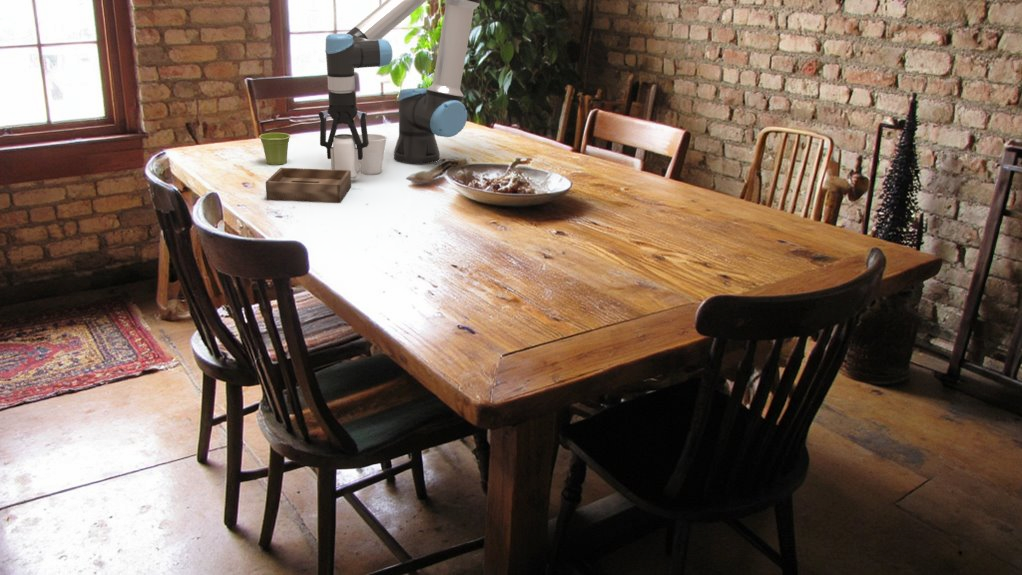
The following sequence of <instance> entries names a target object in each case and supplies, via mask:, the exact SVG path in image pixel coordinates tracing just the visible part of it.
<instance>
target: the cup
mask: <svg viewBox="0 0 1022 575" xmlns="http://www.w3.org/2000/svg"><path fill="white" fill-rule="evenodd" d="M367 134H368V142H369V144H368V146H367V147H364V148H363V149H362V150H363V158H362V160H359V162H360V172H361V173H362V174H363V175H369V176H371V175H373V176H374V175H378V174H380V173H382V171H383V170H382V169H383V161H384V154H385V150H386V142H387V139H388V137H387V136H386V135H383V134H377V133H367ZM359 137H360V140H361V142H362V143H363V140H362V133H361V134H359ZM356 147H357V146H356Z"/></svg>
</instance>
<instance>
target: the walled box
mask: <svg viewBox="0 0 1022 575" xmlns="http://www.w3.org/2000/svg"><path fill="white" fill-rule="evenodd" d="M351 179H352V178H351V170H332V169H328V168H327V169H326V168H325V169H324V168H323V169H322V168H303V167H302V168H301V167H297V168H296V167H279V169H277V171H276V172H274V173H273V174H272V175H271V176H269V178H268V179H267V180H266V181H265V193H266V196H265V197H266V200H267V201H285V202H288V201H289V202H312V203H337V204H341V203H342V201H343V200H344V198H345V197H346V196H347V194H348V193H349V192H350V189H351V188H352V180H351Z"/></svg>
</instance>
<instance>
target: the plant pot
mask: <svg viewBox="0 0 1022 575" xmlns="http://www.w3.org/2000/svg"><path fill="white" fill-rule="evenodd" d="M258 136H259V139H260V140H261V143H262V148H263V152H264V157H265V162H266V164H268V165H269V166H279V165H285V164H287V159H288V150H289V149H288V148H289V142H290V138H291V135H290V134H289V133H284V132H268V133H262V134H260V135H258Z"/></svg>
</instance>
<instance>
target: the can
mask: <svg viewBox="0 0 1022 575" xmlns="http://www.w3.org/2000/svg"><path fill="white" fill-rule="evenodd" d="M332 147H333V152H334V169H335V170H351V179H354V178H356V177H357V175H358V171H356V167H355V149H356V143H355V141H354V138H353V136H352V134H350V133H349V134H348V133H342V134H341V133H340V134H335V136H334V140H333V144H332Z"/></svg>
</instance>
